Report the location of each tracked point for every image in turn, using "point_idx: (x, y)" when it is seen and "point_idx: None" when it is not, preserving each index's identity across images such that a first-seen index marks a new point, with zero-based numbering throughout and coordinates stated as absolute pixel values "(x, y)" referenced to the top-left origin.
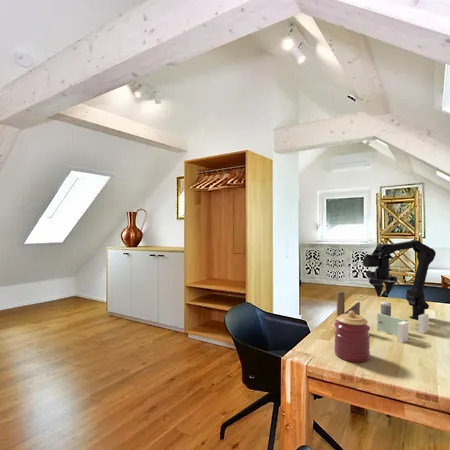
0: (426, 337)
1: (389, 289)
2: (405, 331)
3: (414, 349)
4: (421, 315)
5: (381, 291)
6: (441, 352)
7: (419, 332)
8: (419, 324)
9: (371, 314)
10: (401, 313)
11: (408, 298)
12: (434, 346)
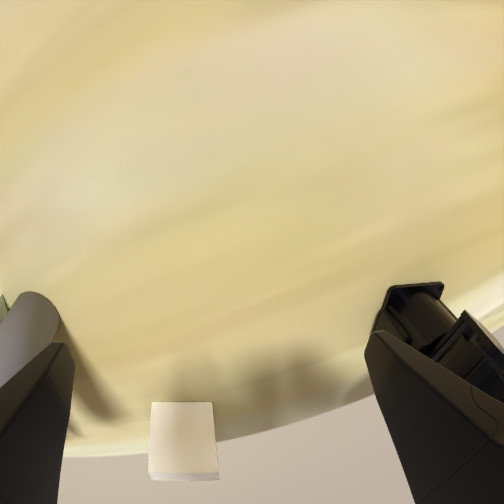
0: (124, 425)
1: (398, 434)
2: None
3: None
4: (167, 475)
5: (49, 468)
6: None
7: (153, 405)
8: (150, 436)
9: (276, 66)
10: (453, 213)
11: (459, 369)
12: (75, 444)
